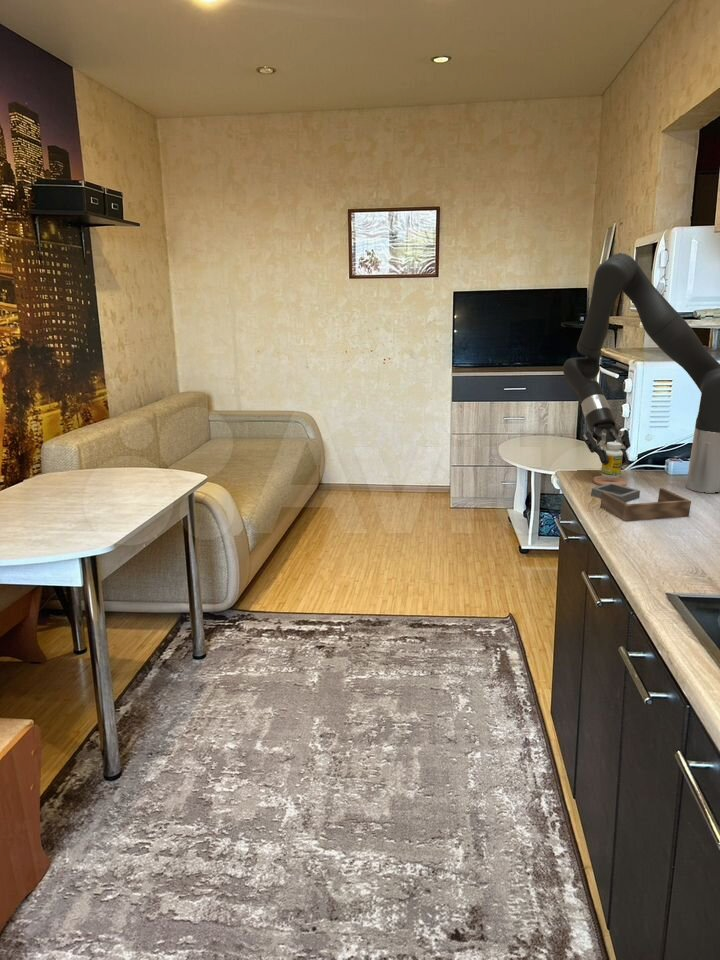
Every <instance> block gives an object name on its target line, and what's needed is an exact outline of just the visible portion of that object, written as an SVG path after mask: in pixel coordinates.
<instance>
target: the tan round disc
mask: <svg viewBox="0 0 720 960" xmlns="http://www.w3.org/2000/svg"><path fill="white" fill-rule="evenodd" d="M627 482H628V481H627V479H625V478H622V477H621V476H619V477H617V478H610V477H605V476H603V475H597V476H594V477H593V483H594V484H595V485H597V486H601V485H605V484H608V483H613V484H617V485H621V486H625V487H627V484H628V483H627Z"/></svg>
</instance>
